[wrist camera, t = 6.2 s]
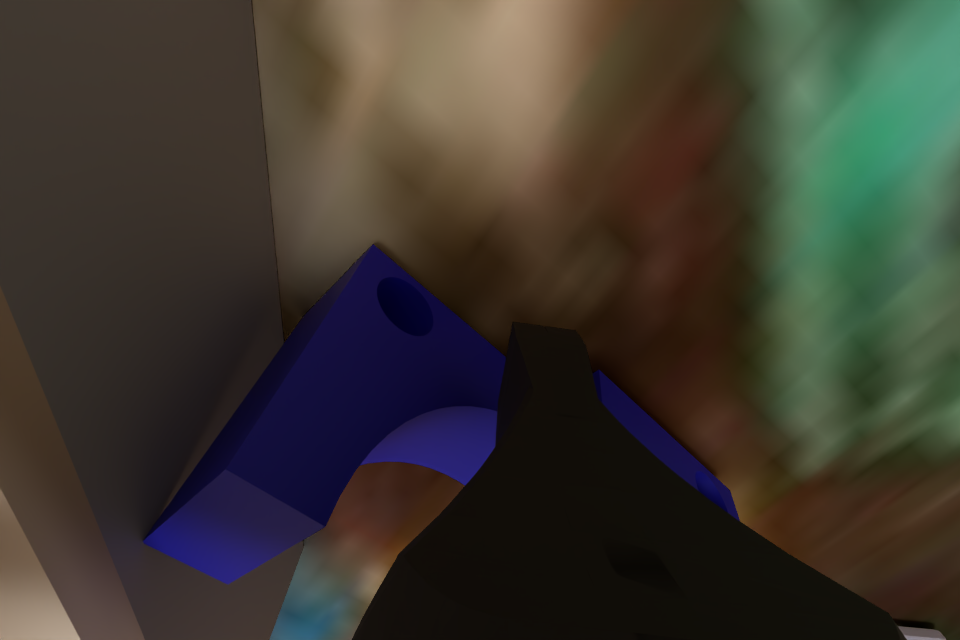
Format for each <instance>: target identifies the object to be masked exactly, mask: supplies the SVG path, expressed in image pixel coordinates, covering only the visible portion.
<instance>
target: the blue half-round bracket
mask: <svg viewBox="0 0 960 640" xmlns="http://www.w3.org/2000/svg"><path fill="white" fill-rule="evenodd" d="M505 361H506V357H505V356H504V355H503V354H502V353H501V352H499V351H498V350H497V349H496V348H495V347H494V346H492V345H491V344H490V343H489V342H488V341H487V340H485V339H484V338H483V337H482V336H481V335H479V334H478V333H477V332H476V331H475V330H474V329H472V328H471V327H470V326H469V325H468V324H467V323H465V322H464V321H463V320H462V319H461V318H459V317H458V316H457V315H456V314H455V313H454V312H452V311H451V310H450V309H449V308H448V307H447V306H445V305H444V304H443V303H442V302H441V301H439V300H438V299H437V298H436V297H435V296H434V295H432V294H431V293H430V292H429V291H428V290H427V289H425V288H424V287H423V286H422V285H421V284H419V283H418V282H417V281H416V280H415V279H414V278H412V277H411V276H410V275H409V274H408V273H407V272H405V271H404V270H403V269H402V268H401V267H399V266H398V265H397V264H396V263H395V262H394V261H392V260H391V259H390V258H389V257H388V256H387V255H385V254H384V253H383V252H382V251H381V250H379V249H378V248H377V247H376V246H375V245H374V244H373V245H372V246H371V247H370V248H369V249H368V250H367V251H366V252H365V253H364V254H363V255H362V256H361V257H360V258H359V259H358V260H357V261H356V262H355V263H354V264H353V265H352V266H351V267H350V268H349V270H348V271H347V272H346V273H345V274H344V275H343V276H342V277H341V278H340V279H339V280H338V281H337V282H336V283H335V284H334V285H333V286H332V287H331V288H330V289H329V290H328V291H327V292H326V293H325V294H324V295H323V296H322V297H321V299H320V300H319V301H318V302H317V303H316V304H315V305H314V306H313V307H312V308H311V309H310V310H309V311H308V312H307V313H306V314H305V315H304V316H303V318H302V319H301V320H300V322H299V323H298V325H297V326H296V327H295V329H294V330H293V332H292V333H291V334H290V336H289V337H288V339H287V340H286V341H285V343H284V344H283V345H282V347H281V348H280V350H279V351H278V352H277V354H276V355H275V357H274V358H273V359H272V361H271V362H270V364H269V365H268V366H267V368H266V369H265V371H264V372H263V373H262V375H261V376H260V378H259V379H258V380H257V382H256V383H255V385H254V386H253V387H252V389H251V390H250V392H249V393H248V394H247V396H246V397H245V398H244V400H243V401H242V403H241V404H240V405H239V407H238V408H237V410H236V411H235V412H234V414H233V415H232V417H231V418H230V419H229V421H228V422H227V424H226V425H225V426H224V428H223V429H222V431H221V432H220V433H219V435H218V436H217V438H216V439H215V440H214V442H213V443H212V444H211V446H210V447H209V449H208V450H207V451H206V453H205V454H204V456H203V457H202V458H201V460H200V461H199V463H198V464H197V465H196V467H195V468H194V470H193V471H192V472H191V474H190V475H189V477H188V478H187V479H186V481H185V482H184V484H183V485H182V486H181V488H180V489H179V491H178V492H177V493H176V495H175V496H174V497H173V499H172V500H171V502H170V503H169V504H168V506H167V507H166V509H165V510H164V511H163V513H162V514H161V516H160V517H159V518H158V520H157V521H156V523H155V524H154V526H153V527H152V528H151V530H150V531H149V533H148V534H147V536H146V537H145V539H144V540H143V542H144V544H146V545H148V546H150V547H152V548H154V549H156V550H158V551H160V552H162V553H164V554H166V555H168V556H170V557H172V558H174V559H176V560H178V561H181V562H183V563H185V564H187V565H189V566H191V567H193V568H195V569H197V570H199V571H201V572H203V573H205V574H207V575H209V576H211V577H213V578H215V579H217V580H219V581H221V582H223V583H225V584H230V583H231V582H233V581H235V580H236V579H238V578H240V577H241V576H243V575H245V574H246V573H248V572H250V571H252V570H253V569H255V568H257V567H258V566H260V565H262V564H263V563H265V562H267V561H268V560H270V559H272V558H274V557H275V556H277V555H279V554H280V553H282V552H284V551H285V550H287V549H289V548H290V547H292V546H294V545H295V544H297V543H299V542H301V541H302V540H304V539H306V538H307V537H309V536H311V535H312V534H314V533H316V532H317V531H319V530H321V529H322V528H324V527H325V526H326V524H327V522H328V520H329V518H330V516H331V514H332V512H333V509H334V507H335V505H336V503H337V501H338V499H339V497H340V495H341V493H342V492H343V490H344V488H345V487H346V485H347V484H348V482H349V480H350V479H351V477H352V476H353V474H354V472H355V471H356V469H357V468H358V467H359V466H360V465H363V464H367V463H375V462H385V461H388V462H406V463H412V464H418V465H421V466H425V467H428V468H432V469H434V470H437V471H439V472H441V473H444V474H446V475H448V476H450V477H452V478H453V479H455V480H457V481H459V482H461V483H462V484H463V485H466V484H467V483H468V482H469V481H470V480H471V478H472V477H473V476H474V475H475V474H476V473H477V471H478V470H479V469H480V467H481V466H482V465H483V463H484V462H485V461H486V459H487V458H488V457H489V455H490V454H491V452H492V451H493V449H494V448H495V441H496V423H497V408H498V399H499V393H500V388H501V383H502V377H503V372H504V366H505ZM592 374H593V378H594V383H595V387H596V391H597V396H598V399H599V400H600V401H601V402H602V403H603V405H604V406H605V407H606V408H607V409H608V410H609V411H610V412H611V413H612V414H613V416H614V417H615V418H616V419H617V420H618V421H619V422H620V423H621V424H622V425H623V426H624V427H625V428H626V429H627V430H628V431H629V432H630V433H631V434H632V435H633V436H634V437H635V438H637V439H638V440H639V441H640V442H641V443H642V444H643V445H644V446H645V447H646V448H647V449H648V450H650V451H651V452H652V453H653V454H654V455H655V456H656V457H657V458H658V459H660V460H661V461H662V462H663V463H664V464H665V465H667V466H668V467H669V468H670V469H671V470H673V471H674V472H675V473H676V474H677V475H679V476H680V477H681V478H683V479H684V480H685V481H686V482H688V483H689V484H690V485H691V486H693V487H694V488H695V489H697V490H698V491H699V492H700V493H702V494H703V495H704V496H706V497H707V498H708V499H709V500H711V501H712V502H713V503H715V504H716V505H718V506H719V507H720V508H722V509H723V510H725V511H726V512H727V513H729V514H730V515H732V516H733V517H734V518H736V519H737V520H739V517H738V514H737V511H736V508H735V504H734V501H733V498H732V495H731V492H730V490H729V489H728V488H727V487H726V486H725V485H724V484H722V483H721V482H720V481H719V480H718V479H717V478H716V477H715V476H714V475H713V474H712V473H711V472H709V471H708V470H707V469H706V468H705V467H704V466H703V465H702V464H701V463H700V462H699V461H698V460H696V459H695V458H694V457H693V456H692V455H691V454H690V453H689V452H688V451H687V450H686V449H685V448H683V447H682V446H681V445H680V444H679V443H678V442H677V441H676V440H675V439H674V438H673V437H672V436H670V435H669V434H668V433H667V432H666V431H665V430H664V429H663V428H662V427H661V426H660V425H659V424H657V423H656V422H655V421H654V420H653V419H652V418H651V417H650V416H649V415H648V414H647V413H646V412H644V411H643V410H642V409H641V408H640V407H639V406H638V405H637V404H636V403H635V402H634V401H633V400H631V399H630V398H629V397H628V396H627V395H626V394H625V393H624V392H623V391H622V390H621V389H620V388H618V387H617V386H616V385H615V384H614V383H613V382H612V381H611V380H610V379H609V378H608V377H607V376H605V375H604V374H603V373H602V372H601V371H600V370H597V371H596V372H594V373H592ZM739 521H740V520H739Z"/></svg>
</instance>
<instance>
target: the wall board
mask: <svg viewBox="0 0 960 640" xmlns="http://www.w3.org/2000/svg"><path fill="white" fill-rule="evenodd" d="M283 344H284V339H283V328H282V318H281V307H280V297H279V286H278V276H277V265H276V255H275V244H274V234H273V223H272V213H271V202H270V192H269V181H268V171H267V160H266V150H265V139H264V129H263V118H262V108H261V98H260V87H259V77H258V66H257V56H256V45H255V35H254V24H253V14H252V3H251V0H0V640H269V639H270V636H271V633H272V631H273V628H274V625H275V623H276V620H277V617H278V615H279V612H280V609H281V607H282V604H283V601H284V598H285V596H286V593H287V590H288V588H289V585H290V582H291V580H292V577H293V574H294V572H295V569H296V566H297V563H298V561H299V558H300V555H301V553H302V550H303V540H302V541H301V542H299V543H297V544H295V545H294V546H292V547H290V548H289V549H287V550H285V551H284V552H282V553H280V554H279V555H277V556H275V557H274V558H272V559H270V560H268V561H267V562H265V563H263V564H262V565H260V566H258V567H257V568H255V569H253V570H252V571H250V572H248V573H246V574H245V575H243V576H241V577H240V578H238V579H236V580H235V581H233V582H231V583H230V584H225V583H223V582H221V581H219V580H217V579H215V578H213V577H211V576H209V575H207V574H205V573H203V572H201V571H199V570H197V569H195V568H193V567H191V566H189V565H187V564H185V563H183V562H181V561H178V560H176V559H174V558H172V557H170V556H168V555H166V554H164V553H162V552H160V551H158V550H156V549H154V548H152V547H150V546H148V545H146V544H144V542H143V540H144V539H145V537H146V536H147V534H148V533H149V531H150V530H151V528H152V527H153V526H154V524H155V523H156V521H157V520H158V518H159V517H160V516H161V514H162V513H163V511H164V510H165V509H166V507H167V506H168V504H169V503H170V502H171V500H172V499H173V497H174V496H175V495H176V493H177V492H178V491H179V489H180V488H181V486H182V485H183V484H184V482H185V481H186V479H187V478H188V477H189V475H190V474H191V472H192V471H193V470H194V468H195V467H196V465H197V464H198V463H199V461H200V460H201V458H202V457H203V456H204V454H205V453H206V451H207V450H208V449H209V447H210V446H211V444H212V443H213V442H214V440H215V439H216V438H217V436H218V435H219V433H220V432H221V431H222V429H223V428H224V426H225V425H226V424H227V422H228V421H229V419H230V418H231V417H232V415H233V414H234V412H235V411H236V410H237V408H238V407H239V405H240V404H241V403H242V401H243V400H244V398H245V397H246V396H247V394H248V393H249V392H250V390H251V389H252V387H253V386H254V385H255V383H256V382H257V380H258V379H259V378H260V376H261V375H262V373H263V372H264V371H265V369H266V368H267V366H268V365H269V364H270V362H271V361H272V359H273V358H274V357H275V355H276V354H277V352H278V351H279V350H280V348H281V347H282V345H283Z"/></svg>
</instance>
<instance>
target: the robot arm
mask: <svg viewBox="0 0 960 640" xmlns="http://www.w3.org/2000/svg"><path fill="white" fill-rule="evenodd" d="M352 640H946V638H945V637H944V636H943V635H942V633H941V632H939V631H937V630H934V629H924V628H913V627H902V626H897V625H896V623H895V622H894V620H893V619H892V617H891V616H890V615H889V613H887V612H885V611H884V610H882V609H880V608H879V607H877V606H875V605H874V604H872V603H870V602H869V601H867V600H865V599H864V598H862V597H860V596H858V595H857V594H855V593H853V592H852V591H850V590H848V589H847V588H845V587H843V586H842V585H840V584H838V583H837V582H835V581H833V580H831V579H830V578H828V577H826V576H825V575H823V574H821V573H820V572H818V571H816V570H815V569H813V568H811V567H810V566H808V565H806V564H804V563H803V562H801V561H799V560H798V559H796V558H794V557H793V556H791V555H790V554H788V553H787V552H785V551H783V550H782V549H780V548H779V547H777V546H776V545H774V544H773V543H771V542H770V541H768V540H767V539H765V538H764V537H762V536H761V535H759V534H758V533H756V532H755V531H753V530H752V529H750V528H749V527H747V526H746V525H744V524H743V523H741V522H740V521H739V520H737V519H736V518H734V517H733V516H732V515H730V514H729V513H727V512H726V511H725V510H723V509H722V508H720V507H719V506H718V505H716V504H715V503H713V502H712V501H711V500H709V499H708V498H707V497H706V496H704V495H703V494H702V493H700V492H699V491H698V490H697V489H695V488H694V487H693V486H691V485H690V484H689V483H688V482H686V481H685V480H684V479H683V478H681V477H680V476H679V475H677V474H676V473H675V472H674V471H673V470H671V469H670V468H669V467H668V466H667V465H665V464H664V463H663V462H662V461H661V460H660V459H658V458H657V457H656V456H655V455H654V454H653V453H652V452H651V451H650V450H648V449H647V448H646V447H645V446H644V445H643V444H642V443H641V442H640V441H639V440H638V439H637V438H635V437H634V436H633V435H632V434H631V433H630V432H629V431H628V430H627V429H626V428H625V427H624V426H623V425H622V424H621V423H620V422H619V421H618V420H617V419H616V418H615V417H614V416H613V414H612V413H611V412H610V411H609V410H608V409H607V408H606V407H605V406H604V405H603V403H602V402H601V401H600V400H599V399H598V396H597V391H596V387H595V383H594V378H593V374H592V369H591V365H590V361H589V356H588V352H587V349H586V346H585V344H584V342H583V340H582V339H581V337H580V336H579V334H578V333H577V332H576V331H575V330H570V329H562V328H555V327H547V326H545V327H543V326H540V325H532V324H525V323H517V322H513V323H512V329H511V334H510V340H509V345H508V350H507V356H506V361H505V366H504V372H503V377H502V383H501V388H500V393H499V399H498V408H497V423H496V441H495V448H494V449H493V451H492V452H491V454H490V455H489V457H488V458H487V459H486V461H485V462H484V463H483V465H482V466H481V467H480V469H479V470H478V471H477V473H476V474H475V475H474V476H473V477H472V478H471V480H470V481H469V482H468V483H467V484H466V485H465V487H464V488H463V489H462V490H461V491H460V492H459V494H458V495H457V496H456V497H455V498H454V499H453V500H452V502H451V503H450V504H449V505H448V506H447V507H446V508H445V509H444V510H443V511H442V512H441V514H440V515H439V516H438V517H437V518H435V519H434V520H433V521H432V522H431V523H430V524H429V525H428V526H427V527H426V528H425V529H424V530H423V531H422V532H421V533H420V534H419V535H418V536H417V537H416V538H415V539H414V540H413V541H412V542H411V543H410V544H408V545H407V546H406V547H405V548H404V549H403V550H402V551H401V552H400V553H399V554H398V556H397V558H396V560H395V562H394V563H393V565H392V567H391V568H390V570H389V572H388V574H387V575H386V577H385V579H384V580H383V582H382V584H381V585H380V587H379V589H378V591H377V592H376V594H375V596H374V598H373V600H372V601H371V603H370V605H369V607H368V609H367V611H366V612H365V614H364V616H363V618H362V620H361V622H360V624H359V626H358V628H357V630H356V632H355V634H354V636H353V638H352Z"/></svg>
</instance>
